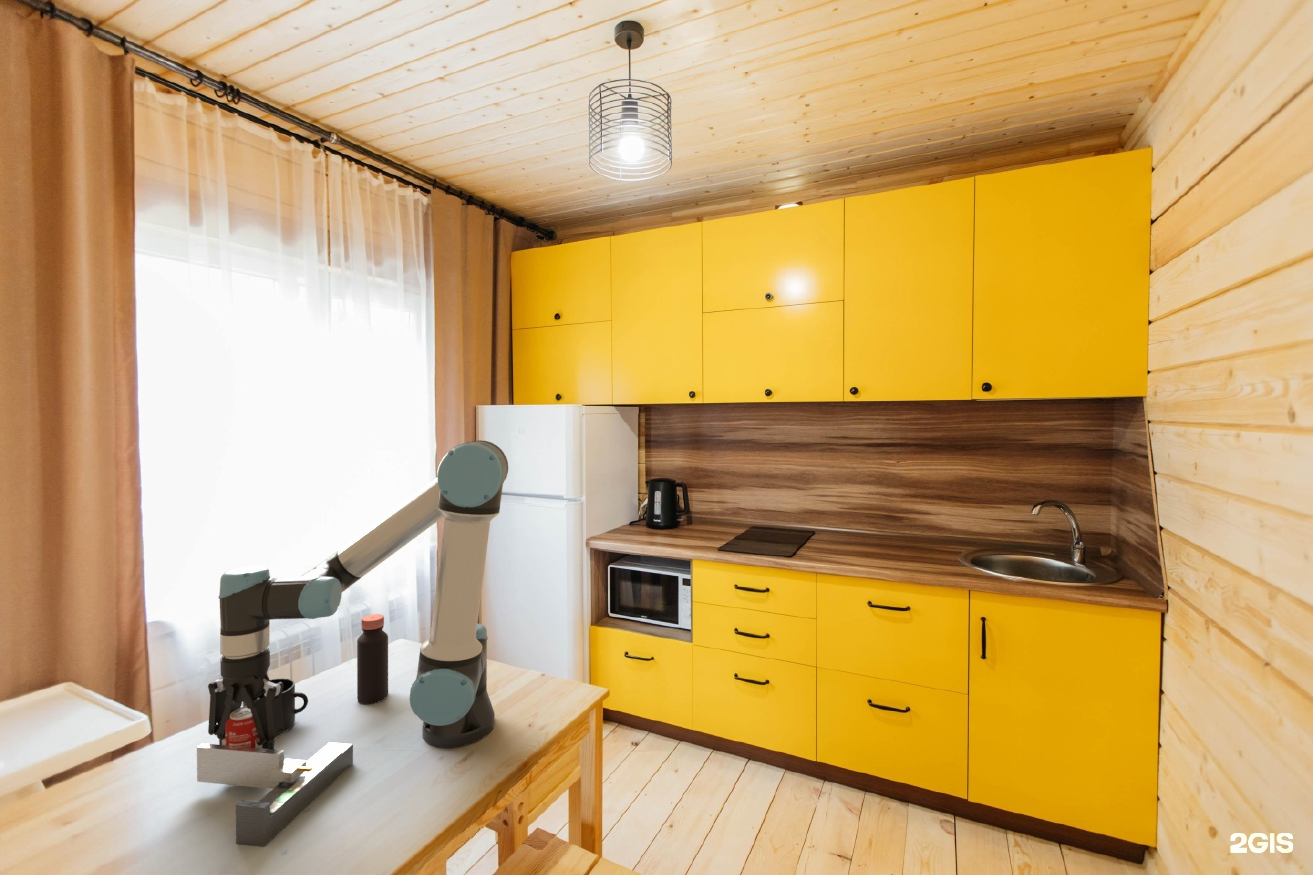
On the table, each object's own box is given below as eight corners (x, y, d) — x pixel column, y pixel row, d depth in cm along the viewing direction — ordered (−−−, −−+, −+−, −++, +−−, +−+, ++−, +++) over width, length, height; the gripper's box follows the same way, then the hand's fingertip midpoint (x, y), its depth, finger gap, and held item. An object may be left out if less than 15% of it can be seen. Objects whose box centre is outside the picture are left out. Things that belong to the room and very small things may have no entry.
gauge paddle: (318, 783, 103) (318, 749, 103) (304, 796, 99) (303, 760, 99) (209, 773, 105) (208, 739, 105) (191, 785, 102) (190, 750, 101)
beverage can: (261, 759, 111) (260, 699, 111) (271, 772, 107) (271, 710, 107) (221, 774, 106) (221, 711, 106) (231, 789, 102) (230, 724, 102)
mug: (304, 732, 123) (304, 691, 123) (238, 744, 118) (237, 702, 118) (311, 711, 132) (311, 673, 132) (249, 721, 127) (248, 682, 127)
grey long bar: (352, 763, 113) (352, 732, 112) (264, 846, 91) (264, 807, 90) (329, 761, 113) (329, 730, 113) (236, 843, 91) (235, 804, 91)
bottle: (353, 697, 139) (353, 616, 138) (383, 688, 144) (383, 610, 143) (361, 707, 134) (361, 624, 133) (392, 698, 138) (391, 618, 138)
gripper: (307, 646, 108) (308, 763, 109) (217, 639, 111) (218, 755, 111) (276, 663, 101) (277, 789, 102) (180, 655, 103) (182, 779, 104)
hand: (246, 771), depth 107 cm, fingers closed on beverage can, 6 cm apart
